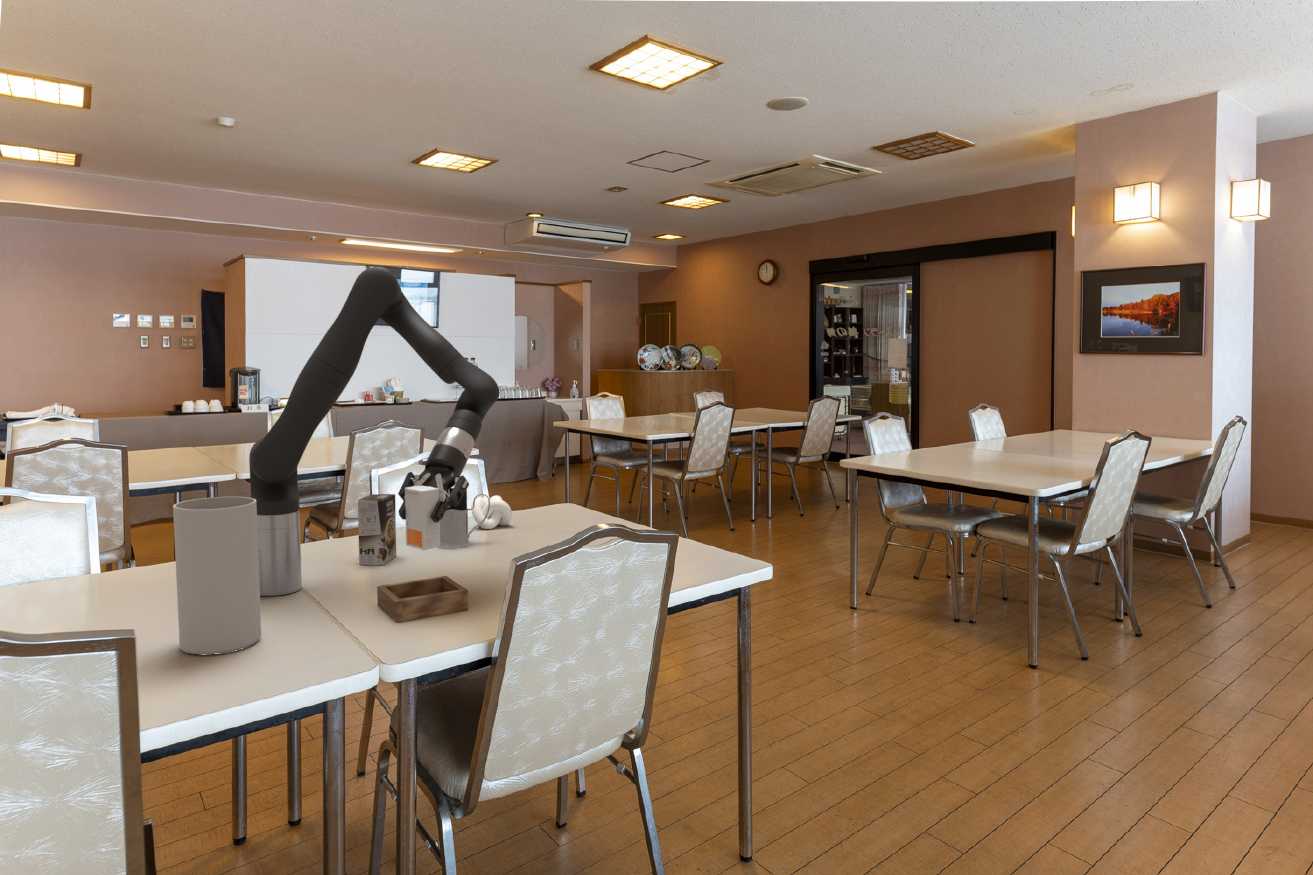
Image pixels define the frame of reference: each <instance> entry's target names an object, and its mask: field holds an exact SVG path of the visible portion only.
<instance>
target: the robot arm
mask: <svg viewBox="0 0 1313 875" xmlns="http://www.w3.org/2000/svg"><path fill="white" fill-rule="evenodd" d="M379 319H380V320H382V321H383V322H385V323H386V324H387V325H388V326H389V327H391V329H393V330H394V331H395V332H396V333H397V334H399V336H400V337H401V338H403V339H404V340H405V342H406V343H407V344H408V345H409V346H410V347H411V349H413V350H414V352H415V353H416V354H417V355H418V356H419V357H420V359H421V360H422V361H423V362H424V363H425V364H426V366H428V367H429V368H430V369H431V370H432V372H434V374H435V375H437V377H438V378H439V379H440V380H441V381H442V382H443V383H445V384H446V385H452V384H455V383H457V384H458V385H459V386H461V387H462V388H464V390H462V392H461V394H460V396H459V397H458V400H457V402H456V404H455V407H454V409H453V413H452V414H451V416H450V418H449V419H448V422H447V423H446V426H445V427H444V430H443V431H442V432H441V433H440V435H439V436H438V437H437V440H436V442H435V443H434V446H433V448H432V450H431V451H430V453H429V456H428V457H427V459H426V460H425V464H424V465H425V466H424V470H423V471H422V472H421V473H420V474H414V473H413V472H412V471H409V472H408V473H407V474H406V476H405V478H404V480H403V483H402V485H401V487H400V489H399V491H398V493H397V494H398V496H399V497H400V499H402V501H403V502H402V504H401V505H400V507H399V509H398V515H399V517H400V519H402V520H404V521H406V512H405V488H407V487H414V486H427V487H433V488H438V489H439V499H440V502H437V504H436V506H435V508H434V510H433V512H432V514H431V519H432V520H433V522H435V523H438V522H439V520H441V519H442V518H443V516H444V514H445V511H446V509H447V508H449V507H450V506H451V505H454V506H458V505H459V503H460V501H461V499H462V497H463V495H464V493H465V492H466V490H467V489H468V488H469V486H470V483H469V481H468V479H467V478H466V476H464V475H462V473H463V471H464V469H465V467H466V465H467V462H468V460H469V459H470V456H471V455H472V452H473V448H474V446H475V444H476V441H477V439H478V436H479V435H480V432H481V430H482V426H483V424H482V422H483V421H484V419H485V416H486V415H487V413H488V412H489V410H490V409H491V408H492V407H493V405H494V404H495V403H496V402H497V401H498V399H499V398H500V394H501V393H500V391H501V390H500V387H499V385H498V383H497V382H496V380H495V379H494V378H493V377H492V375H490V374H489V373H488V372H486V371H485V370H483V369H481V368H480V367H478V366H477V365H475V364H473V363H472V362H470V361H469V360H467V359H466V358H465V357H464V356H463V354H461V353H460V352H459V351H458V349H457V348H455V347H454V345H453V344H452V343H451V342H450V341H449V340H448V339H447V338H445V336H443V335H442V334H441V333H440V332H439V331H437V330H436V329H435V328H434V327H433V326H432V325H430V324H429V322H427V321H426V320H425V319H424V318H423V317H422V316H421V315H420V314H419V313H418V312H417V311H416V309H415V308H414V307H413V306H412V304H411V303H410V302H409V300H408V299H407V297H406V295H405V294H404V293H403V290H402V288H401V285H400V282H399V281H398V279H397V277H396V276H395V275H394V274H393V273H392V271H390V270H389V269H388V268H385V267H382V266H371V267H369V268H366V269H365V270H363V271H361V273H359V275H358V276H357V277H356V279H355V280H354V283H353V285H352V288H351V289H350V291H349V294H348V296H347V297H346V300H345V302H344V304H343V306H342V307H341V310H340V312H339V314H338V315H337V317H336V318H335V320H334V321H333V323H332V324H331V325H330V327H329V328H328V329H327V331H326V332H325V334H324V336H323V337H322V339H320V341H319V343H318V345H317V346H316V347H315V349H314V351H312V353H311V355H310V357H309V358H308V359H307V361H306V363H305V365H304V366H303V368H302V370H301V371H300V372H299V375H298V377H297V379H296V380H295V383H294V384H293V388H292V389H291V392H290V394H289V397H288V399H287V401H286V404H285V407H284V408H283V411H282V412H281V414H280V415H279V417H278V418H277V420H276V421H275V422H274V423H273V425H272V427H271V428H270V429H269V431H268V432H267V433H266V435H265V436H263V437H262V438H261V437H260V438H259V439H258V440H257V441H256V442H255V443H254V444H252V446H251V449H250V450H249V458H248V461H249V481H250V498H253V499H256V506H257V533H258V560H259V588H260V597H265V596H266V597H267V596H268V597H269V596H270V597H271V596H272V597H273V596H275V597H276V596H282V595H283V596H284V595H288V594H292V593H296V592H299V591H300V590H301V589H302V588H303V584H302V583H303V581H302V580H303V575H302V552H301V550H302V549H301V548H302V547H301V546H302V545H301V521H300V520H301V518H300V515H301V513H300V495H299V493H300V492H299V484H298V483H299V478H298V476H299V475H298V467H299V463H300V462H301V459H302V457H303V455H304V453H305V450H306V448H307V446H308V444H309V442H310V441H311V438H312V436H313V435H314V433H315V431H316V430H317V428H318V426H319V425H320V424H321V422H322V421H323V420H324V419H325V418H326V416H327V415H328V414H329V412H330V411H331V409H332V408H333V407H334V405H335V404H336V402H337V400H338V399H339V398H340V396H341V395H342V394H343V392H344V391H345V389H346V387H347V385H348V383H349V382H350V381H351V379H352V377H354V376H353V375H354V374H355V372H356V370H357V367H358V365H359V363H360V361H361V360H360V359H361V357H362V354H363V351H364V348H365V346H366V343H367V340H368V337H369V335H370V334H371V332H372V330H373V328H374V326H376V324H377V322H378V321H379ZM450 488H453V490H452V492H451V494H450V493H449V489H450ZM467 491H468V490H467Z"/></svg>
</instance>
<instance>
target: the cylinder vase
mask: <svg viewBox="0 0 1313 875" xmlns="http://www.w3.org/2000/svg"><path fill="white" fill-rule="evenodd" d="M172 512H173V516H172V517H173V530H174V531H173V532H174V533H173V535H174V536H173V537H174V552H175V553H174V555H175V574H176V575H175V576H176V597H177V598H176V599H177V600H176V601H177V615H178V616H177V618H178V637H179V638H178V639H179V648H180V650H182V651H183V652H184V653H186V654H189V653H191V654H190V655H193V654H215V653H225V654H228V653H227V652H230V653H233V652H232V651H234V652H236V651H235V650H238V651H240V650H239V649H241V648H244V649H246V648H245V647H247V646H249V647H251V646H253V645H254V644H256V643H257V642H258V641H259V640H260V638H261V636H262V620H261V619H262V618H261V596H260V588H259V560H258V533H257V506H256V499H253V498H251V497H245V496H215V497H213V496H212V497H203V498H196V499H190V500H189V499H188V500H183V501H179V502H178V503H175V504H173V505H172ZM255 642H256V643H255ZM252 644H253V645H252ZM250 645H251V646H250ZM247 648H248V647H247ZM241 650H242V649H241Z"/></svg>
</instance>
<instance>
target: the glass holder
mask: <svg viewBox="0 0 1313 875" xmlns="http://www.w3.org/2000/svg"><path fill="white" fill-rule="evenodd" d="M453 488H454V487H452V488H450V489H449V493H450V494H451V492H452V490H453ZM480 496H484V497H486V498H487V501H488V502H489V505H488V511H487V513H486V516H485V517H484V519H483V520H482V521H481V522H480V523H479V524H477V525H476V526H475V527H474V528H473V529H470V530H471V531H469V519H468V518H469V517H468V516H469V511H471V510H473V509H474V505H475V499H476V498H478V497H480ZM439 502H440V499H439ZM472 503H473V508H468V490H466V492H465V493H464V495H463V497H462V499H461V501H460V503H459V505H458V506H454V505H451V506H450V507H449V508H447V509H446V511H445V514H444V516H443V518H442V519H441V520H440V547H437V548H438V549H441V548H443V549H442V550H458V549H457V548H460V549H464V548H468V547H470V545H471V544H470V542H469V539H470V535H471V534H472V533H473V532H474V531H475V530H476V529H478V527H481V526H480V525H481V524H482V523H483V522H484V521H485V519H486V517H487V515H488V513H489V509H490V497H489V496H488V495H487V494H484V493H479V494H477V495H476V496H474V498H473V501H472Z"/></svg>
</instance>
